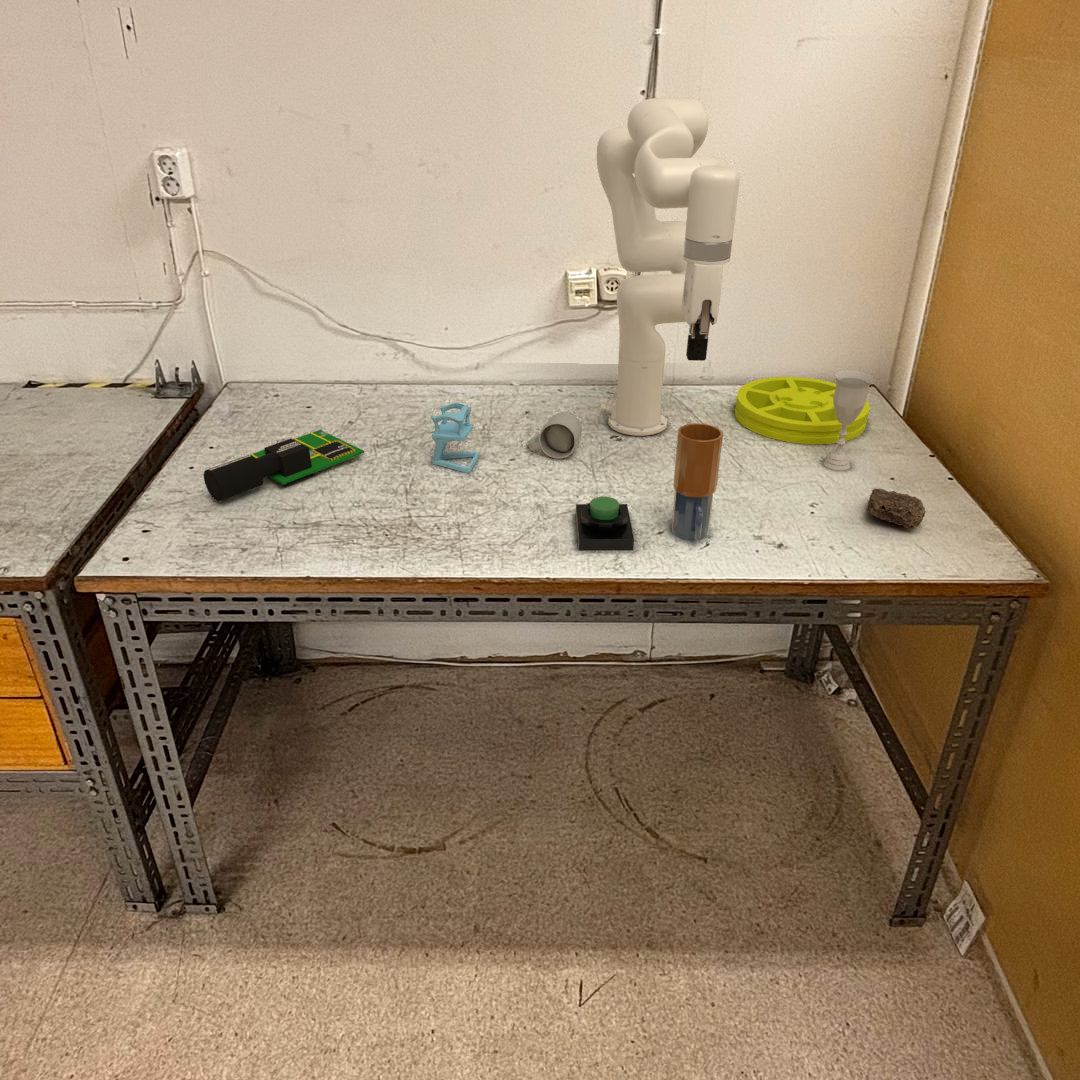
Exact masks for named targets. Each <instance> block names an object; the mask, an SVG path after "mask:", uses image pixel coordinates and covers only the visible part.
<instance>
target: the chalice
mask: <svg viewBox="0 0 1080 1080" xmlns="http://www.w3.org/2000/svg"><path fill="white" fill-rule="evenodd" d="M834 378H835V380H836V382H835V383H836V388H835V394H834V399H833V403H834V409H835V413H836V416H837V420H838V422H839V423H841V424H842V428H841V430H840V432H839V434H840V438H839V440H837V443H836V444H837V449H835V450H833V451H831V452H830V453H828V456H827V457H826V458H825V460H824V461H823V466H824V467H826V468H827V469H830V470H834V471H846V470H849V469H850V468H851V464H850V460H849V456H848V454H847V453H846V452H844V451H843V447H844V445H845V444H846V443H847V441H845V439H844V438H845V436H846V435H847V432H846V428H847V425H849V424H852V423H853V422H854V421H855V419H856V418H857V417H858V415H859V414H860V413H861V411H862V409H863V408H864V406H865V403H866V400H867V398H868V393H869V388H870V385H871V384H872V383H873V381H874V378H873V376H872V375H870V374H869V373H866V372H863V371H859V370H848V369H847V370H840V371H837V372H836V373H835V374H834Z"/></svg>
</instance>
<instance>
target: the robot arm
mask: <svg viewBox="0 0 1080 1080" xmlns="http://www.w3.org/2000/svg"><path fill="white" fill-rule="evenodd" d="M708 131H709V115H708V112H707V109H706V107H705V105H704V104H703V103H702V102H701V101H700V100H698V99H697V98H694V97H655V98H654V97H653V98H647V99H643V100H641V101H639V102H638V103H637V104H635V105H634V106H633V107H632V109H631V110H630V112H629V114H628V116H627V126H620V127H615V128H611V129H608V130H607V131H605V132H603V133H602V134H601V135H600V137H599V139H598V142H597V146H596V167H597V173H598V177H599V181H600V184H601V186H602V189H603V191H604V193H605V196H606V198H607V201H608V204H609V206H610V210H611V214H612V215H611V216H612V223H613V229H614V236H615V244H616V252H617V256H618V261H619V264H620V266H621V267H622V268H623V270H625V271H626V272H630V273H653V274H641V275H640V274H638V275H634V276H630V277H628V278H626V279H624V280H623V281H622V282H621V283H620V284H619V286H618V288H617V292H616V306H617V315H618V328H619V329H618V330H619V331H618V333H619V337H618V338H619V340H618V364H617V384H616V386H617V387H616V399H613V400H611V399H609V398H603V397H601V398H600V400H599V407H600V409H599V410H600V411H601V412H607V413H609V414H610V415H609V416H608V422H607V423H608V426H609V427H610V428H611V429H612V430H614V431H615V432H618V433H619V434H623V435H627V436H635V437H636V436H637V437H638V436H639V437H644V436H652V435H656V434H659V433H663V432H664V431H665V430H666V429H667V427H668V419H667V417H666V415H663V414H662V413H661V412H662V401H663V400H662V399H663V387H664V373H665V361H666V343H665V340H664V338H663V336H662V335H661V334H660V332H659V331H658V330H657V329H656V326H657V325H664V324H675V323H686V325H688V326H689V327H688V334H687V343H686V353H685V354H686V355H685V356H686V359H687V361H704V362H705V361H706V359H707V356H708V355H707V353H708V344H709V335H710V334H709V333H710V327H711V326H714V325H715V324H717V321H718V317H719V311H720V302H721V291H722V282H723V269H724V264H727V263H730V261H731V254H732V248H733V247H732V246H733V238H734V231H735V230H734V229H735V223H736V214H737V205H738V197H739V188H740V174H739V172H738V171H737V169H735V168H733V167H732V166H731V167H730V166H729V165H728V163H727V162H726V160H724V159H722V158H720V157H715V156H714V157H713V156H711V157H710V156H709V157H694V155H695V154H696V153H697V152H698V151H699V149H700V148H701V147H702V146H703V143H705V140H706V138H707V134H708ZM682 208H687V210H686V222H685V221H683V220H682V221H681V220H667V221H664V220H663V221H662V220H661V221H660V220H658V218H657V216H656V210H655V209H662V210H663V209H664V210H665V209H682ZM654 272H655V273H654ZM656 272H671V273H656Z"/></svg>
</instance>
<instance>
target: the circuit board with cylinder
mask: <svg viewBox="0 0 1080 1080" xmlns="http://www.w3.org/2000/svg"><path fill="white" fill-rule="evenodd" d="M363 454H365V450H363V449H361V448H360V447H358V446H355V445H353V444H351V443H350V442H347V441H345V440H342V439H340V438H338V437H337V436H335V435H332V434H330V433H328V432H326V431H324V430H321V429H318V430H316V431H315V430H314V431H313V432H309V433H307V434H304V435H301V436H297V437H296V438H289V439H288V438H287V439H285V440H282V441H279V442H277V443H274V444H271V445H268V446H265V447H264V448H263V449H262V450H259V451H256V452H253V453H249V454H247V455H244V456H241V457H238V458H235V459H233V460H230V461H227V462H225V463H222V464H219V465H216V466H213V467H211V468H207V469H205V470H204V471H203V482H204V484H205V487H206V489H207V491H208V493H209V495H210V496H211V498H212V499H213V500H214V501H216V502H218V503H219V502H223V501H226V500H228V499H230V498H233V497H236V496H238V495H241V494H243V493H246V492H249V491H252V490H254V489H256V488H257V489H258V488H259V487H262V486H264V483H265V478H267V477H268V478H269V479H272V480H273V481H275V482H277V483H278V484H281V485H282V486H290V485H292V484H295V483H297V482H299V481H302V480H305V479H308V478H310V477H313V476H314V474H315V473H317V472H319V471H322V470H325V469H327V468H330V467H333V466H335V465H337V464H339V463H342V462H345V461H348V460H350V459H353V458H356V457H357V456H360V455H363Z"/></svg>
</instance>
